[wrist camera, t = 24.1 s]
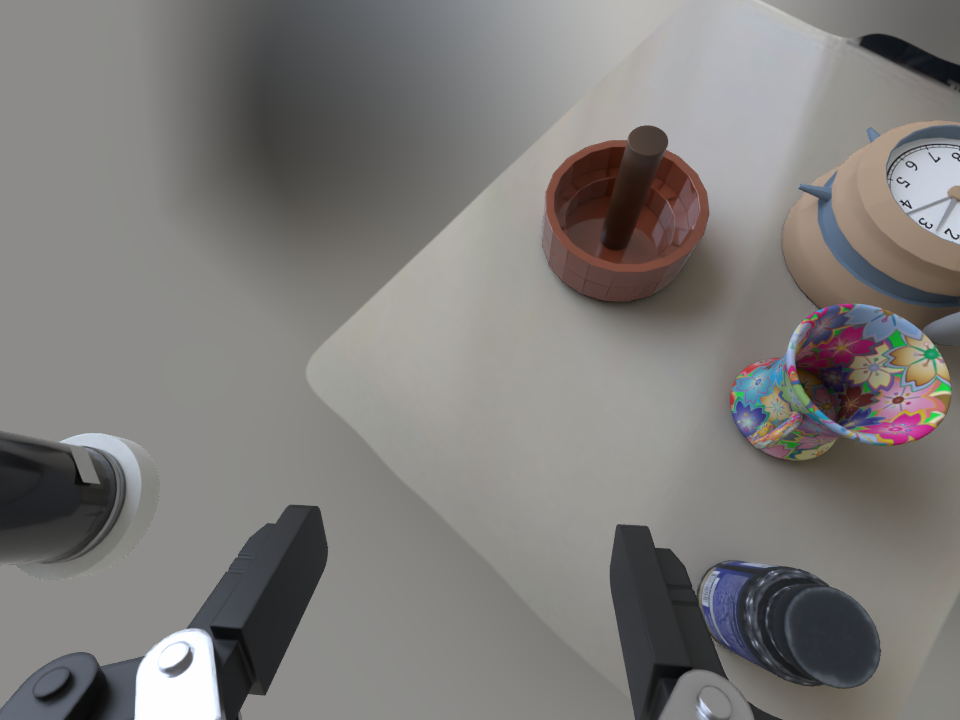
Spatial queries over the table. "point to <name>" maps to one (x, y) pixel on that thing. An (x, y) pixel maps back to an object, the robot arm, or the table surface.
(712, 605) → the pill bottle
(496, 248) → the table surface
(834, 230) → the alarm clock
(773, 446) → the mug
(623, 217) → the stick
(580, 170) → the bowl
